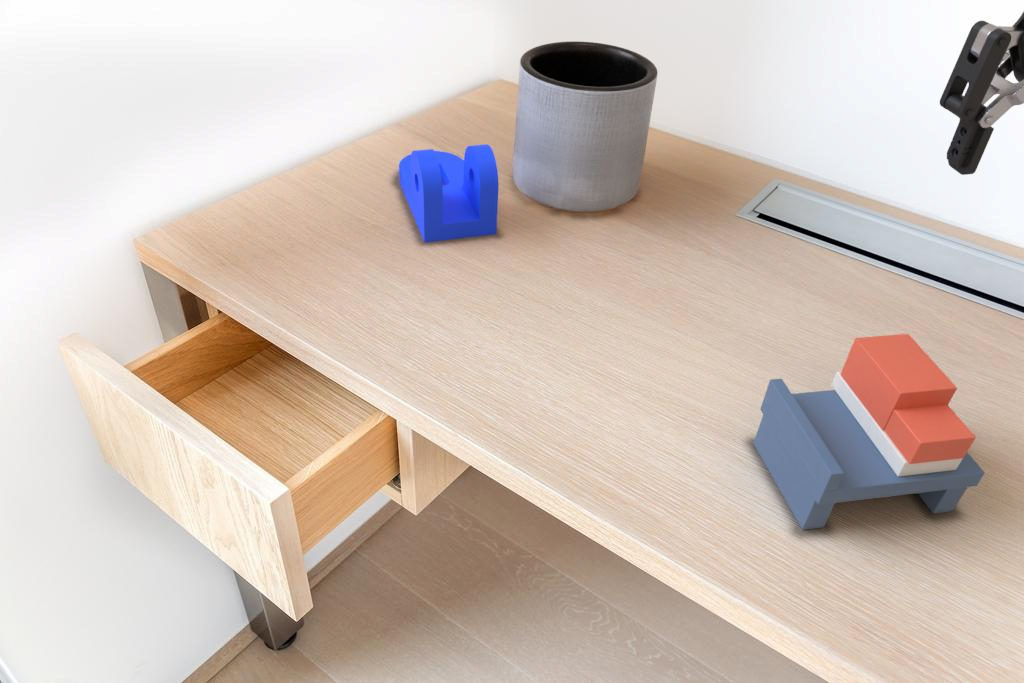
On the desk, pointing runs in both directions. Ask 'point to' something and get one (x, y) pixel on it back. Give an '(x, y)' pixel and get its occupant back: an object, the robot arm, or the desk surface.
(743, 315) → the desk surface
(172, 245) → the desk surface
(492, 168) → the bracket
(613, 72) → the planter
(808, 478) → the shoe shelf
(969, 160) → the robot arm
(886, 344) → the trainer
